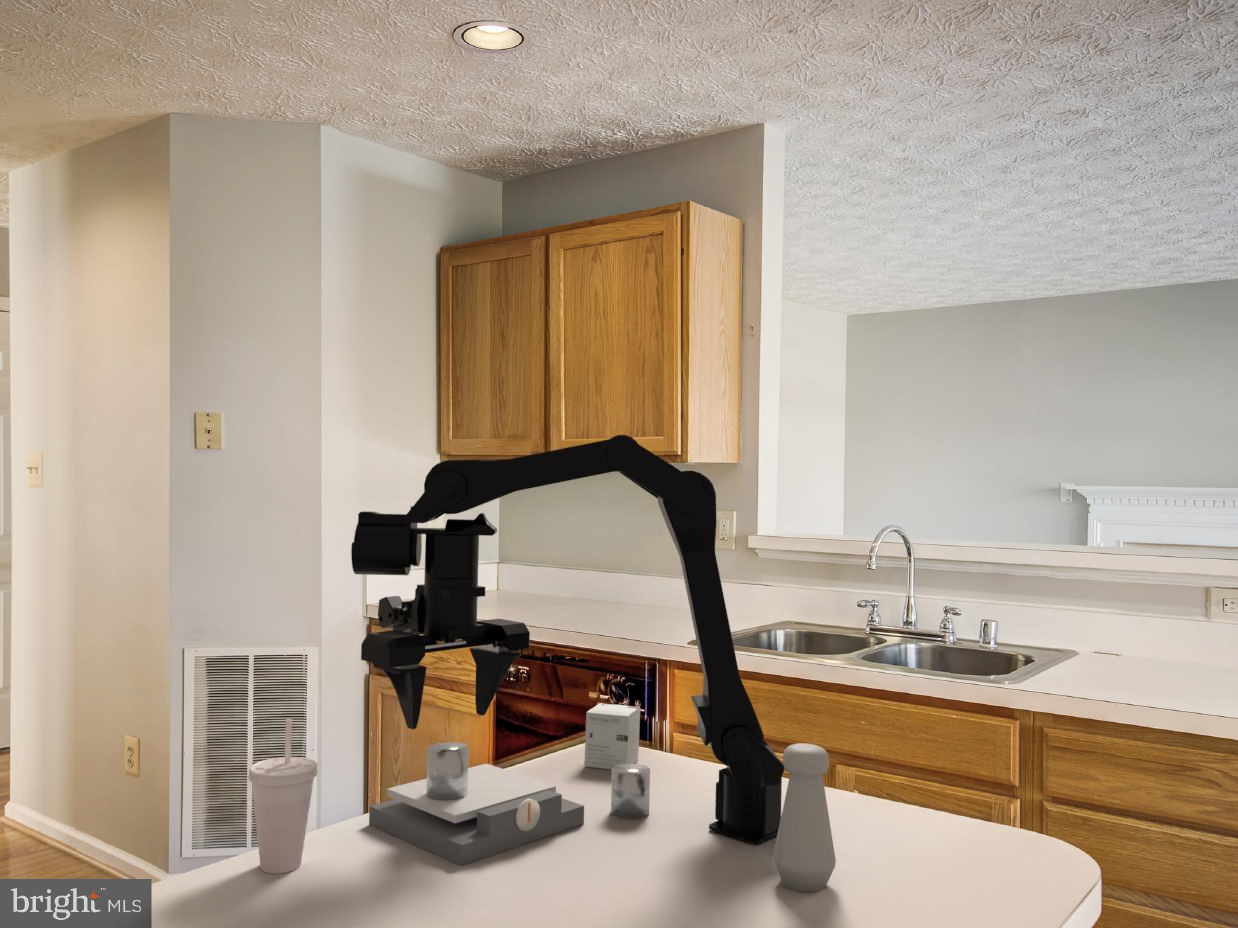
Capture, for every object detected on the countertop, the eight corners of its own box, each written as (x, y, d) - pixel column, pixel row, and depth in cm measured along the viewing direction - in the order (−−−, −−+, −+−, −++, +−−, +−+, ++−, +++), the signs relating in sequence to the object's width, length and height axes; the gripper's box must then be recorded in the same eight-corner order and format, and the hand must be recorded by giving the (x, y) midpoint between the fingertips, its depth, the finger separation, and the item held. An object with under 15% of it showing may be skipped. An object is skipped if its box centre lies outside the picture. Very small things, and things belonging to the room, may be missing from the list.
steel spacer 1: (476, 793, 107) (477, 747, 107) (443, 802, 104) (443, 754, 104) (451, 785, 110) (451, 739, 110) (418, 793, 107) (419, 747, 107)
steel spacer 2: (657, 813, 114) (658, 769, 114) (631, 822, 111) (632, 777, 111) (628, 803, 117) (629, 761, 117) (602, 812, 114) (603, 768, 114)
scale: (586, 824, 109) (587, 782, 109) (463, 866, 97) (464, 819, 97) (490, 790, 120) (491, 752, 121) (369, 824, 108) (370, 781, 108)
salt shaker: (840, 897, 92) (842, 755, 92) (777, 895, 92) (780, 753, 92) (828, 872, 97) (830, 739, 98) (769, 870, 98) (772, 737, 98)
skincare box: (583, 767, 131) (584, 711, 131) (597, 755, 137) (598, 701, 137) (627, 771, 130) (629, 715, 130) (639, 759, 136) (640, 705, 136)
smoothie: (329, 860, 98) (333, 717, 98) (281, 884, 92) (286, 732, 92) (279, 849, 100) (283, 710, 101) (230, 871, 95) (234, 723, 95)
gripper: (472, 566, 120) (468, 696, 119) (334, 574, 106) (330, 721, 106) (534, 574, 112) (531, 713, 112) (394, 584, 98) (390, 742, 98)
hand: (447, 721), depth 107 cm, fingers open, 9 cm apart
